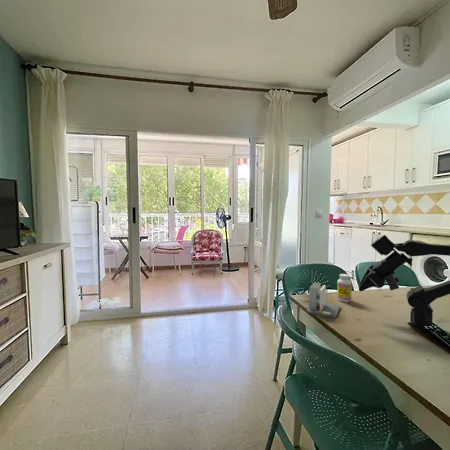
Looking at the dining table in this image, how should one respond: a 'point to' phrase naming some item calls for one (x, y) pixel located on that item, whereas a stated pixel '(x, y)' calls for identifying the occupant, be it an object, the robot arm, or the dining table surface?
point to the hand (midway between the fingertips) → (360, 287)
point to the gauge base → (326, 310)
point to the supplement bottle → (344, 288)
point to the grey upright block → (321, 297)
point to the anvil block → (314, 296)
